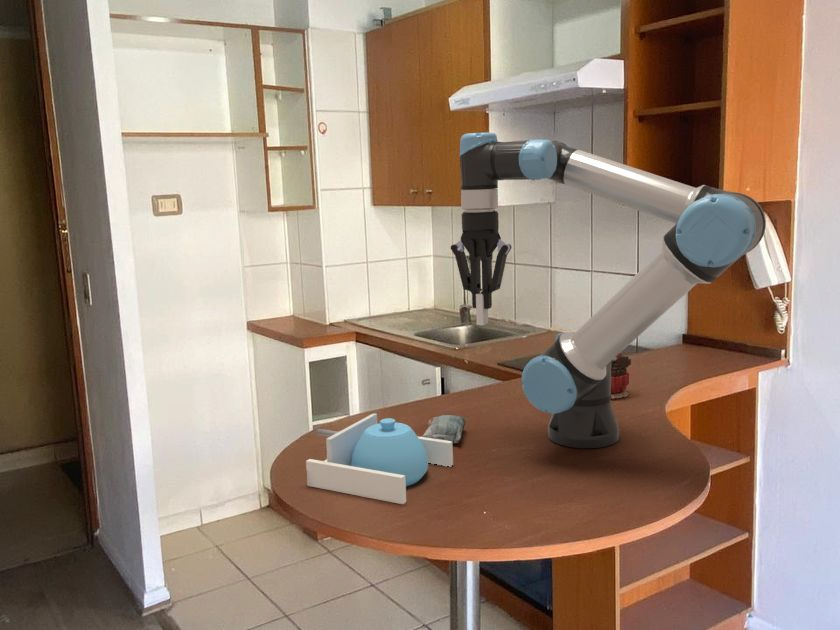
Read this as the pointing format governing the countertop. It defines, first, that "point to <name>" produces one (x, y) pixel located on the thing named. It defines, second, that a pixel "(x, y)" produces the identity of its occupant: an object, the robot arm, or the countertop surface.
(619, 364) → the cake
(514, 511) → the countertop surface
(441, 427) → the packaged food
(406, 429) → the sugar bowl
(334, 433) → the pusher
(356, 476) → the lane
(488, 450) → the countertop surface
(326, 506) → the countertop surface
